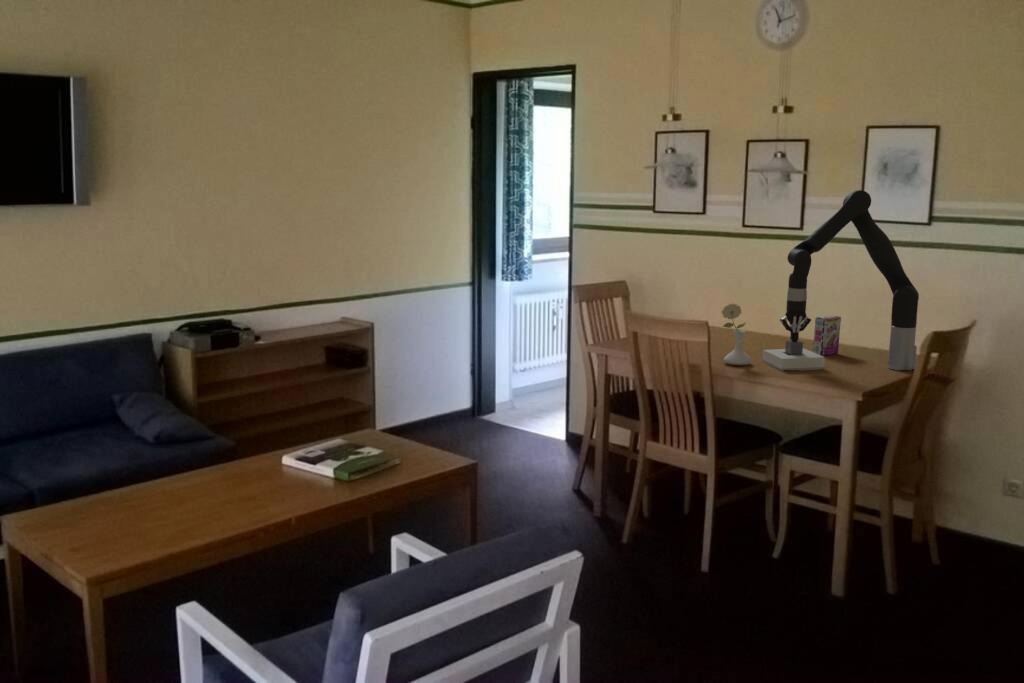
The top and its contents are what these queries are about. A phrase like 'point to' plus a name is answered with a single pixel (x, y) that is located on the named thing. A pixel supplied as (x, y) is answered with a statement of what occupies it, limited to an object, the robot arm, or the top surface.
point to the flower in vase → (737, 354)
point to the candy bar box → (826, 335)
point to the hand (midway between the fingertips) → (794, 341)
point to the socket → (793, 360)
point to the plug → (794, 347)
